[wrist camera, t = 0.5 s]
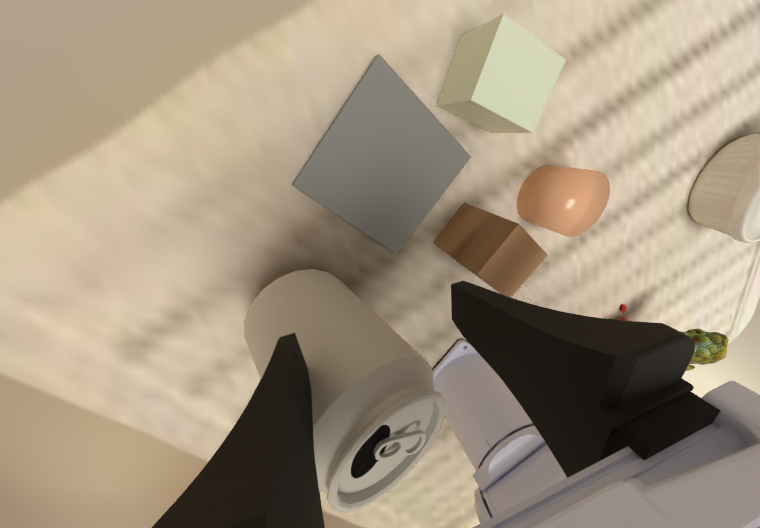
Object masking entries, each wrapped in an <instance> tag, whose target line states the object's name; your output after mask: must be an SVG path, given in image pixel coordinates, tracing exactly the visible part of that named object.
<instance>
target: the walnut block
mask: <svg viewBox="0 0 760 528" xmlns="http://www.w3.org/2000/svg"><path fill="white" fill-rule="evenodd" d="M433 243H434V244H436V245H437V246H438V247H439V248H441V249H442V250H443V251H445V252H446V253H447V254H448V255H450V256H451V257H452V258H454V259H455V260H456V261H457V262H459V263H460V264H461V265H463V266H464V267H465V268H467V269H468V270H470V271H471V272H472V273H474V274H475V275H476V276H478V277H479V278H480V279H482V280H483V281H484V282H486V283H487V284H489V285H490V286H491V287H493V288H494V289H495V290H497V291H498V292H499V293H501V294H502V295H504V296H507V297H511V296H512V295H513V294H514V293H515V292H516V291H517V289H518V288H519V287H520V286H521V285H522V284H523V283H524V281H525V280H526V279H527V278H528V277H529V276H530V275H531V274H532V272H533V271H534V270H535V269H536V268H537V267H538V266H539V264H540V263H541V262H542V261H543V260H544V259H545V258H546V256H547V254H546V253H545V252H544V250H543V249H542V248H541V247H540V246H539V245H538V244H537V243H536V242H535V241H534V240H533V239H532V238H531V237H530V235H529V234H528V233H527V232H526V231H525V230H524V229H523V228H522V227H521V226H520V225H519V224H517V223H515V222H512V221H510V220H507V219H504V218H502V217H499V216H497V215H494V214H492V213H489V212H486V211H484V210H481V209H479V208H476V207H474V206H471V205H468V204H466V203H464V204H463V205H462V206H461V207H460V209H459V210H458V211H457V212H456V214H455V215H454V216H453V218H452V219H451V220H450V221H449V223H448V224H447V225H446V226H445V228H444V229H443V230H442V232H441V233H440V234H439V235H438V237H437V238H436V239H435V240H434V242H433Z"/></svg>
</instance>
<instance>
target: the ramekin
mask: <svg viewBox="0 0 760 528" xmlns="http://www.w3.org/2000/svg"><path fill="white" fill-rule="evenodd" d="M688 208H689V213H690V215H691V216H692V218H693V219H694V220H695V221H696V222H697V223H699V224H701V225H704V226H706V227H709V228H711V229H714V230H717V231H719V232H722V233H725V234H727V235H730V236H732V237H733V238H734V239H735V240H738V241H741V242H746V243H753V242H757V241H760V133H759V134H752V135H748V136H744V137H741V138H739V139H737V140H735V141H733V142H731V143H729V144H727V145H726V146H725V147H723V148H722V149H721V150H720V151H718V152H717V153H716V154H715V155H714V156H713V157H712V159H711V160H710V161H709V162H708V163H707V164H706V166H705V167H704V169H703V170H702V172H701V173H700V175H699V176H698V178H697V180H696V182H695V184H694V186H693V189H692V191H691V194H690V198H689V205H688Z"/></svg>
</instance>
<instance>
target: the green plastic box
mask: <svg viewBox="0 0 760 528" xmlns="http://www.w3.org/2000/svg"><path fill="white" fill-rule="evenodd" d="M565 61H566V59H564V58H563V57H562V56H560V55H559V54H557V53H556V52H555V51H553V50H552V49H551V48H549V47H548V46H547V45H545V44H544V43H543V42H541V41H540V40H538V39H537V38H536V37H534V36H533V35H532V34H530V33H529V32H528V31H526V30H525V29H524V28H522V27H521V26H520V25H518V24H517V23H515V22H514V21H513V20H511V19H510V18H509V17H507V16H506V15H505V14H502V15H500V16H499V17H497V18H495V19H493V20H491V21H489V22H487V23H485V24H483V25H482V26H480V27H478V28H476V29H474V30H472V31H470V32H468V33H467V34H465V35H463V36H461V37H460V39H459V42H458V45H457V48H456V51H455V54H454V57H453V60H452V62H451V65H450V68H449V71H448V74H447V77H446V80H445V83H444V86H443V88H442V91H441V94H440V97H439V100H438V103H437V106H438V107H440V108H442V109H444V110H446V111H448V112H450V113H452V114H454V115H456V116H458V117H460V118H462V119H465V120H467V121H469V122H471V123H473V124H475V125H477V126H479V127H481V128H483V129H485V130H487V131H489V132H491V133H533V131H534V129H535V127H536V124H537V122H538V120H539V118H540V116H541V113H542V111H543V109H544V107H545V105H546V103H547V100H548V98H549V96H550V94H551V92H552V90H553V87H554V85H555V83H556V81H557V79H558V77H559V74H560V72H561V70H562V68H563V66H564V64H565Z"/></svg>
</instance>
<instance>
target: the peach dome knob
mask: <svg viewBox="0 0 760 528" xmlns="http://www.w3.org/2000/svg"><path fill="white" fill-rule="evenodd" d="M609 192H610V186H609V181H608V179H607V177H606V175H605V174H604V173H602V172H600V171H594V170H586V169H577V168H569V167H561V166H553V165H546V166H542V167H540V168H538V169H536V170H535V171H534V172H533V173H531V174H530V175H529V177H528V178H527V179H526V180H525V182H524V183H523V185H522V187H521V189H520V192H519V195H518V201H517V208H518V212H519V215H520V216H521V218H522V219H523V220H525V221H527V222H529V223H532V224H535V225H538V226H540V227H543V228H546V229H549V230H551V231H554V232H557V233H560V234H562V235H565V236H569V237H573V236H577V235H580V234H582V233H584V232H585V231H587V230H588V229H589V228H591V227H592V226H593V225H594V224H595V223H596V221H597V220H598V219H599V217H600V216H601V214H602V213H603V211H604V209H605V207H606V204H607V201H608V198H609Z"/></svg>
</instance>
